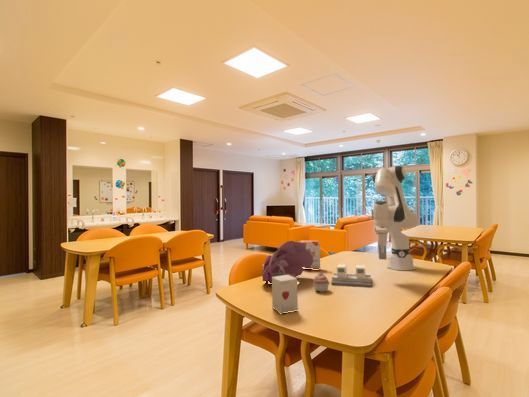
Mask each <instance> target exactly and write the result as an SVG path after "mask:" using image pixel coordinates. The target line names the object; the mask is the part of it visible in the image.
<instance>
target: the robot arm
mask: <svg viewBox="0 0 529 397" xmlns="http://www.w3.org/2000/svg"><path fill="white" fill-rule="evenodd" d="M405 179H406V170H405V169H404V167H403V166H402V165H396V166H393V167H391V166H390V167H381V168H379V169H378V170H377V171H376V172H374V173H373V174H372V181H373V184H374V189H375V191H376V192H377V193H378V194H381V195H382V196H386V198H387V201H384V200H378V201H377V200H376V201H375V202H373V207H372V210H371V218H372V219H373V224H372V225H373V232H375V235H377V243H378V242H379V245H380V246H381V253H384V248H385V246H386V247H387V243H388V234H389V236H390V238H391V255H389V257H388V264H387V266H386V269H387V268H388V269H390V270H391V269H392V270H396V271H413V270H417V266H415V265H414V257H413V256H412V255H411V248H410V238H409V237H408V235H407V234H405V233H403V232H402V231H401V230H402V229H412V228H416V227H417V226H418V225H419V223H420V222H419V221H420V220H419V217H418V215H417V214H416V213H414V212H412V210H410V208H409V207H408V206H407V203H406V199H405V195H404V189H403V186H402V183H403V181H404V180H405Z"/></svg>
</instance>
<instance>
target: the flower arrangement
mask: <svg viewBox="0 0 529 397" xmlns="http://www.w3.org/2000/svg"><path fill="white" fill-rule="evenodd" d="M264 260H265V261H264V263H263V264H261V266H262V267H261V269H262V274H261V275H262V278H261V279H262V282H263V281H266V283H268V281H269V282H270V283H272V277H275V276H282V275H290V276H292V277H294V278H296V279H297V278H298V277H299V276H298V275H300V276H301V275H302V274H303V272H304V270H303V268H302V267H305V268H306V267H310V266H311V265H312V263H313V257H312V255H311V253H310V252H309V251H308V250H306V247H305V245H304V244H302V243H300V242H299V241H294V240H288V241H286V242H284V243H282V244H281V245H279V246H278V247H277V250H276V251H274V252H273V254H272V255H271V254H270V255H268V256H267V257H266V259H264ZM296 276H298V277H296ZM266 283H265V284H266Z"/></svg>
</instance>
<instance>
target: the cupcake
mask: <svg viewBox="0 0 529 397" xmlns="http://www.w3.org/2000/svg"><path fill="white" fill-rule="evenodd" d="M328 279H329V278H328V277H327V276H326V275H325V274H324V273H323V272H319V273H318V274H317V275H316V276H314V281H312V284H313V286H314V289H315V292H317V291H320V292H319V293H326V292H325V291H327V292H328V288H329V285H330V284H331V282H330V280H328Z"/></svg>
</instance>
